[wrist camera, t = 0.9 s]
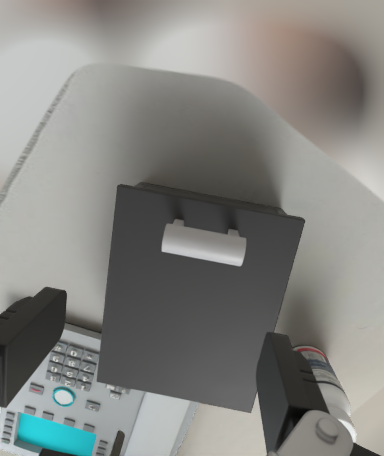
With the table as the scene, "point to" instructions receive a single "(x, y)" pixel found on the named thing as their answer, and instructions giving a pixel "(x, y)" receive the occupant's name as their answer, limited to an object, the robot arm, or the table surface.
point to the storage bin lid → (192, 295)
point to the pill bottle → (329, 387)
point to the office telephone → (89, 408)
